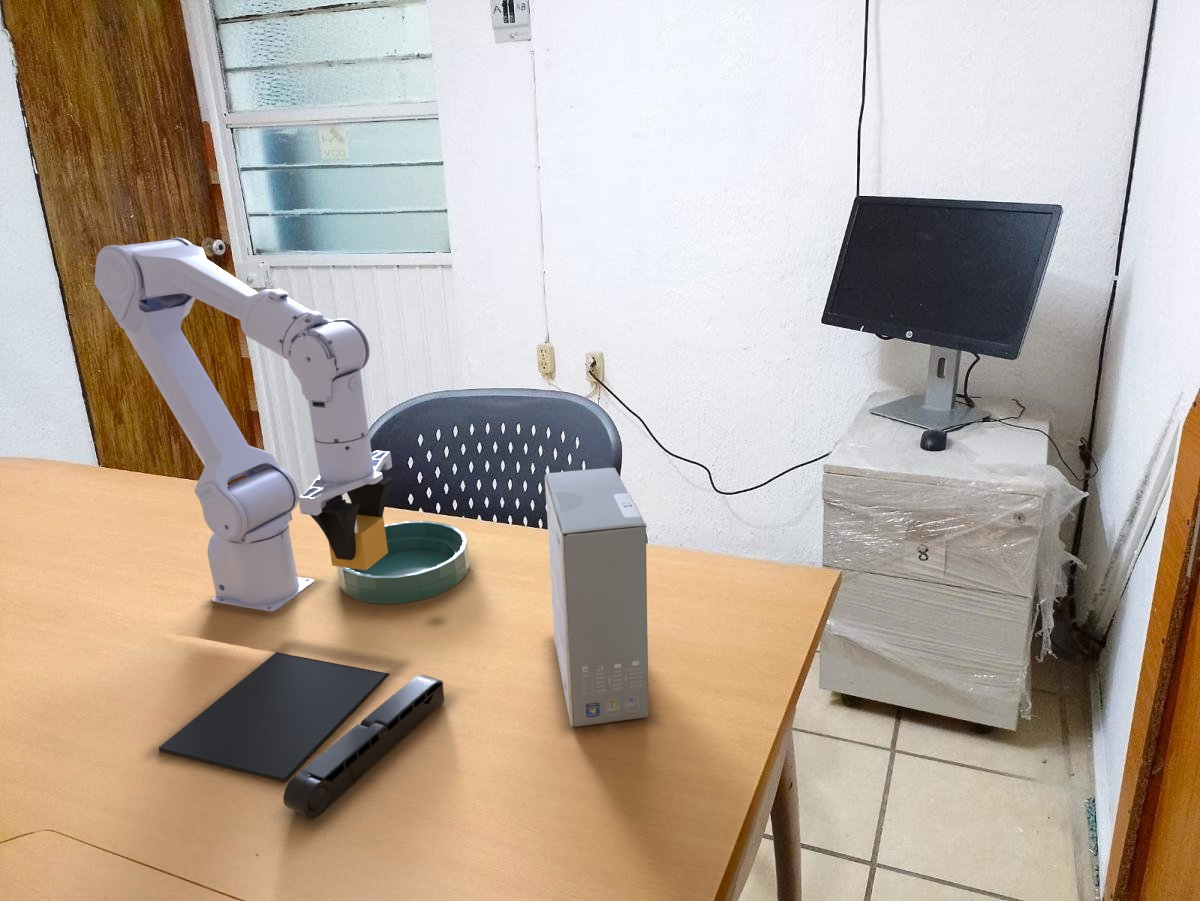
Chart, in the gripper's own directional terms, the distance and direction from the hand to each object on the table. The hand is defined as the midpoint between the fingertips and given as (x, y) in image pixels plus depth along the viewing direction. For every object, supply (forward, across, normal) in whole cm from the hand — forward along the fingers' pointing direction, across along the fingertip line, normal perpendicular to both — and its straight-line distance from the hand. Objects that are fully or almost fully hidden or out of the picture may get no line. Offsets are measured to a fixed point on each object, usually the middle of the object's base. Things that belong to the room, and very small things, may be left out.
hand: (358, 548), depth 94 cm
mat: (+9, -17, -2) cm, 19 cm away
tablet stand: (+9, -20, -14) cm, 26 cm away
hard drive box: (+9, -4, -30) cm, 31 cm away
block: (+1, 0, 0) cm, 1 cm away
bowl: (+9, +10, +1) cm, 14 cm away
